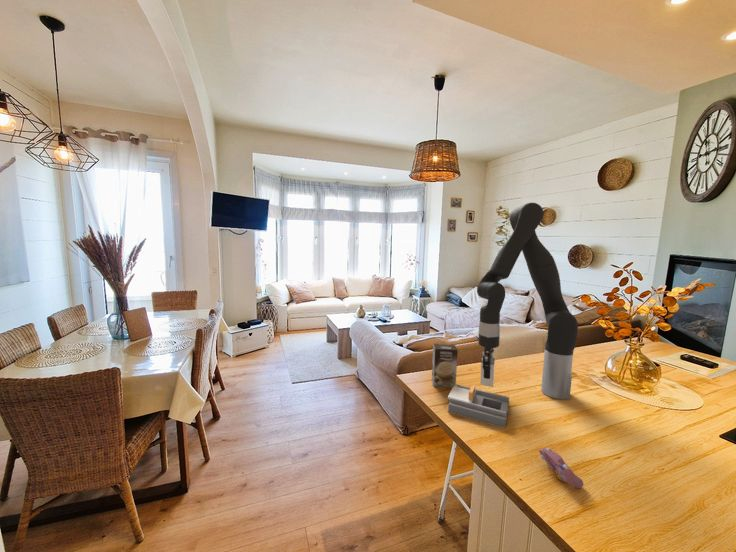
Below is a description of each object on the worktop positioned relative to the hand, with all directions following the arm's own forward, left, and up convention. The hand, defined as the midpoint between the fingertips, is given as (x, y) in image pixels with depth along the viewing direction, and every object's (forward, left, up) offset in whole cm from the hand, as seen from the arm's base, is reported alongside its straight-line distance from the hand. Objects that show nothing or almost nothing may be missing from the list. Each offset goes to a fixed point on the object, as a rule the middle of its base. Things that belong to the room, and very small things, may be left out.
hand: (487, 375), depth 116 cm
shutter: (+7, +14, -4) cm, 15 cm away
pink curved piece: (-22, +35, -7) cm, 42 cm away
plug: (0, 0, -3) cm, 3 cm away
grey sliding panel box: (+1, +14, -7) cm, 15 cm away
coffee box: (+17, +2, -7) cm, 18 cm away
